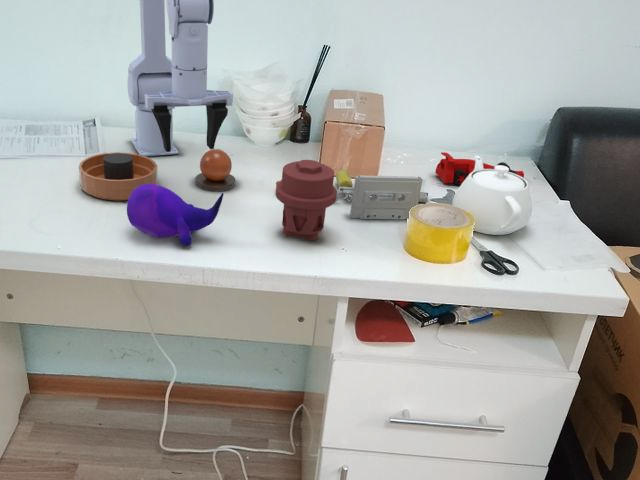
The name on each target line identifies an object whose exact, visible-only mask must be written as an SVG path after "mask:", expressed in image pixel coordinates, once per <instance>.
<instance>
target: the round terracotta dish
mask: <svg viewBox="0 0 640 480" xmlns="http://www.w3.org/2000/svg"><path fill="white" fill-rule="evenodd" d="M112 153H113V152H104V153H103V152H102V153H99V154H94V155H91V156H87V157H86V158H85V159H83V160H82V161H80V162H79V165H78V175H79V177H78V178H79V186H80V189H81V190H82V191H83V192H85V193H86V194H87V195H90V196H92V197H94V198H97V199H102V200H106V201H119V202H120V201H128V200H129V197H130V195H131V193H132V192H133V190H134V189H135V188H137V187H138V186H140V185H143V184H156V185H159V176H158V175H159V174H158V173H159V172H158V164H157V162H156V161H155V160H154V159H151V158H150V157H149V156H142V155H140V154H139V153H133V152H132V153H131V152H123V153H124V154H128V155H130V156H132V159H133V174H134V179H126V180H109V179H104V166H103V162H104V161H103V158H104V156H106V155H108V154H112ZM114 153H122V152H120V151H119V152H114Z"/></svg>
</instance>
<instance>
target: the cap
mask: <svg viewBox="0 0 640 480" xmlns="http://www.w3.org/2000/svg"><path fill="white" fill-rule="evenodd" d="M111 153H112V154H108V155H106V156H104V158H103V161H104V162H103V166H104V179H109V180H126V179H134V174H133V159H132V156H130V155H128V154H124V153H125V152H121V153H115V152H111Z"/></svg>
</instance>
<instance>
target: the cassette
mask: <svg viewBox="0 0 640 480" xmlns="http://www.w3.org/2000/svg"><path fill="white" fill-rule="evenodd" d="M423 181H424V180H423V178H422V176H409V175H408V176H407V175H405V176H404V175H355V177H354V184H353V188H354V190H353V196H352V201H351V204H350V211H349V216H350V218H351V219H361V220H410V219H409V211H410V209H411V208H412V207H414V206H416V205H419V202H418V201H419V196H420V192H421V190H422V185H423ZM380 193H393V197H392V198H390V197H379V195H380ZM372 194H374V195H373V196H370V195H372ZM401 194H402V196H401V197H398V196H399V195H401Z"/></svg>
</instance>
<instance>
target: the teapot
mask: <svg viewBox="0 0 640 480" xmlns="http://www.w3.org/2000/svg"><path fill="white" fill-rule="evenodd" d="M474 160H475V168H474V171H473V172H471V173H470V174H469V175H468V177H467V178H466V179H465V180H464V182H463V183H462V184H461V186H459V187H458V189H457V190H456V192H455V194H454V196H453V198H452V202H451V203H452V204H451V206H452V205H453V206H456V207H458V208H461V209H463V210H466V211H468V212H470V213H471V214H472V215H474V217H475V225H474V228H473V230H472V231H475V232H477V233H480V234H485V235H492V236H493V235H494V236H504V235H509V234H512V233H514V232H516V231H519V230H520V229H522V228H523V227H525V226H526V225H527V224H528V223H529V222H530V220H531V217H532V211H533V200H532V193H531V189H530V184H529V182H528V181H527V179H525V177H524V178H523V177H521V176H519V175H517V174H514V173H511V172H508V171H509V168H508V167H506V166H502V165H497V164H496V165H497V166H496V165H494V166H495V167H494V168H495V169H484V168H483V163H484V161H483V158H482V157H481V156H479V155H474Z"/></svg>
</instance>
